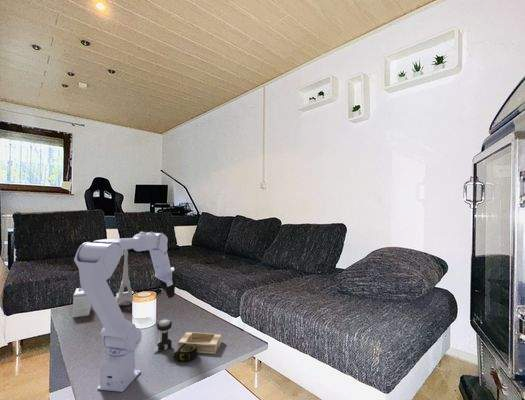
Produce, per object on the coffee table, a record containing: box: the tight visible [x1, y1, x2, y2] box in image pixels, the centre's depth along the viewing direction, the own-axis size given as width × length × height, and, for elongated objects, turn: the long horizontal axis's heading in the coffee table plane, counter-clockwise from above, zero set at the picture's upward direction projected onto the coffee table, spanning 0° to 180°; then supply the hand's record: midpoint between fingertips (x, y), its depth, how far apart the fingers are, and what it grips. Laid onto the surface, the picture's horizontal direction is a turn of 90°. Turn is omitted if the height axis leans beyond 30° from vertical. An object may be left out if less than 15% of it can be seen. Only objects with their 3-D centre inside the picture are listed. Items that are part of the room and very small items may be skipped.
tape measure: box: [172, 343, 198, 362], centre depth 96 cm, size 7×7×4 cm
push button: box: [153, 318, 173, 353], centre depth 102 cm, size 7×5×10 cm
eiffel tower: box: [114, 249, 135, 306], centre depth 143 cm, size 13×13×30 cm
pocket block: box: [177, 331, 223, 355], centre depth 104 cm, size 9×14×3 cm, turn 83°
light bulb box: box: [72, 287, 92, 318], centre depth 134 cm, size 11×7×11 cm, turn 28°
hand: (168, 291), depth 109 cm, fingers open, 7 cm apart
